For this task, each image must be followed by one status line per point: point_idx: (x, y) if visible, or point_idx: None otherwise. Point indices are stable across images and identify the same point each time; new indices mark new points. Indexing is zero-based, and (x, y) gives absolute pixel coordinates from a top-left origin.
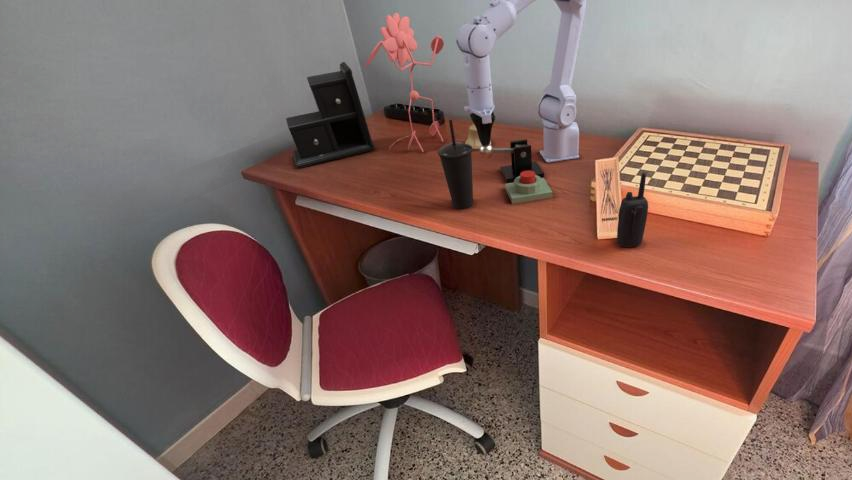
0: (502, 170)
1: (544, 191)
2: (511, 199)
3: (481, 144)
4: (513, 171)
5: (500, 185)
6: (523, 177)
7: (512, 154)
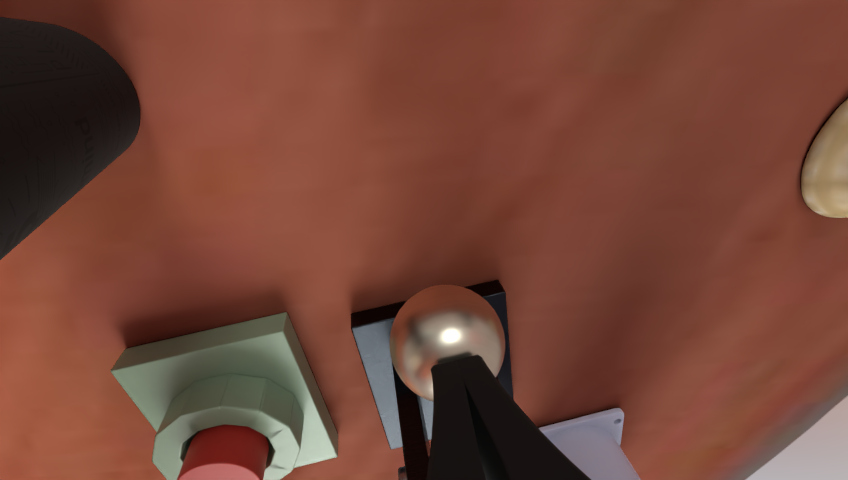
0: None
1: None
2: (122, 361)
3: (434, 368)
4: None
5: (333, 287)
6: (180, 474)
7: None
